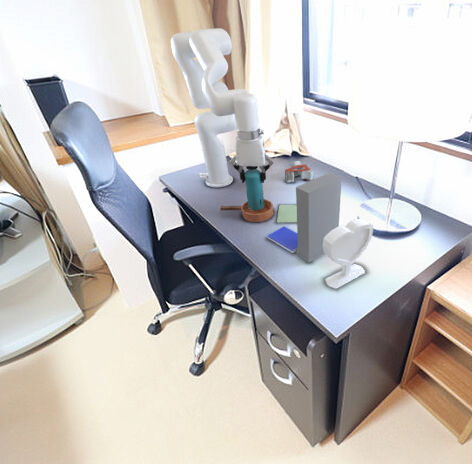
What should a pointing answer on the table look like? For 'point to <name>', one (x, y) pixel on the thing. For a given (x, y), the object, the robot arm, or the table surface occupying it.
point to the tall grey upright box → (317, 213)
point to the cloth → (287, 214)
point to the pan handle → (230, 207)
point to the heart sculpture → (347, 250)
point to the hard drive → (285, 239)
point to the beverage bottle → (254, 188)
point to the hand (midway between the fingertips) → (253, 180)
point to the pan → (257, 212)
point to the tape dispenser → (298, 172)
